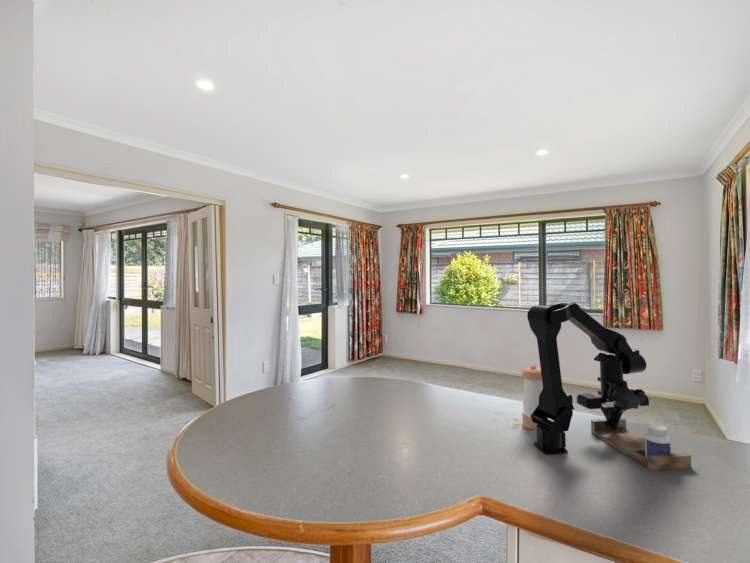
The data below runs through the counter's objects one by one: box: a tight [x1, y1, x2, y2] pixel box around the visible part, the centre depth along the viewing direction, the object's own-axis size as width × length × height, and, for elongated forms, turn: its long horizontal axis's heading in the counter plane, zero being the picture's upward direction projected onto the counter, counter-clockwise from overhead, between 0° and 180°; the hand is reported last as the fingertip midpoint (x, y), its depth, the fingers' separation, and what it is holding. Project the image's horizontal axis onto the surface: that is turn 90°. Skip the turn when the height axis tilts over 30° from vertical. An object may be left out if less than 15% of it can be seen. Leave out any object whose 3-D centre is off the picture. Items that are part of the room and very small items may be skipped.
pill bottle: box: [644, 423, 672, 459], centre depth 96 cm, size 5×5×9 cm
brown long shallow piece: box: [590, 417, 692, 472], centre depth 103 cm, size 10×22×4 cm, turn 5°
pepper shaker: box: [521, 364, 543, 430], centre depth 121 cm, size 7×7×19 cm
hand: (613, 428), depth 111 cm, fingers closed, pressing on brown long shallow piece
